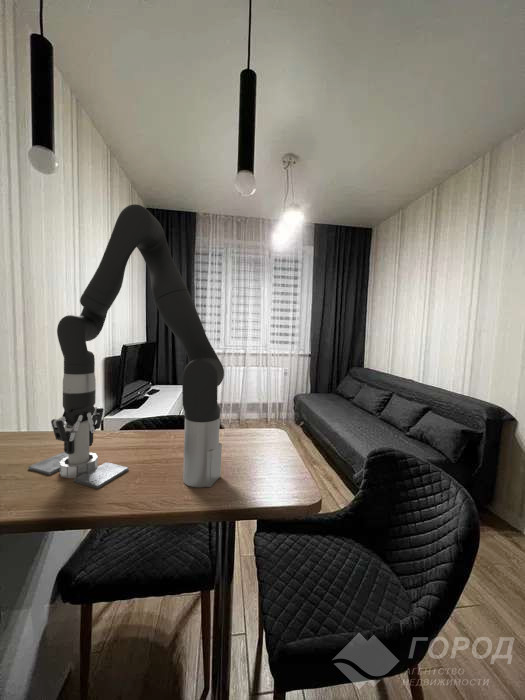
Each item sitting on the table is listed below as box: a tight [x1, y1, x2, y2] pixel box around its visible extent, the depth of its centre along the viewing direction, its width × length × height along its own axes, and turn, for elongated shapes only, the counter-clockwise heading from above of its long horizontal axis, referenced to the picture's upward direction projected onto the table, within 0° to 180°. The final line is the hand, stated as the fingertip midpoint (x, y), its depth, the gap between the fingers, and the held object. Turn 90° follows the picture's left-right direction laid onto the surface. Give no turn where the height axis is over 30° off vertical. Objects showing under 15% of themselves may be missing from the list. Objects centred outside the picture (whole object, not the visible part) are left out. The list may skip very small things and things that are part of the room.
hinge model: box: [28, 451, 129, 490], centre depth 78 cm, size 25×10×3 cm, turn 72°
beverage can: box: [68, 420, 90, 465], centre depth 77 cm, size 5×5×12 cm
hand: (79, 449), depth 77 cm, fingers closed on beverage can, 5 cm apart
